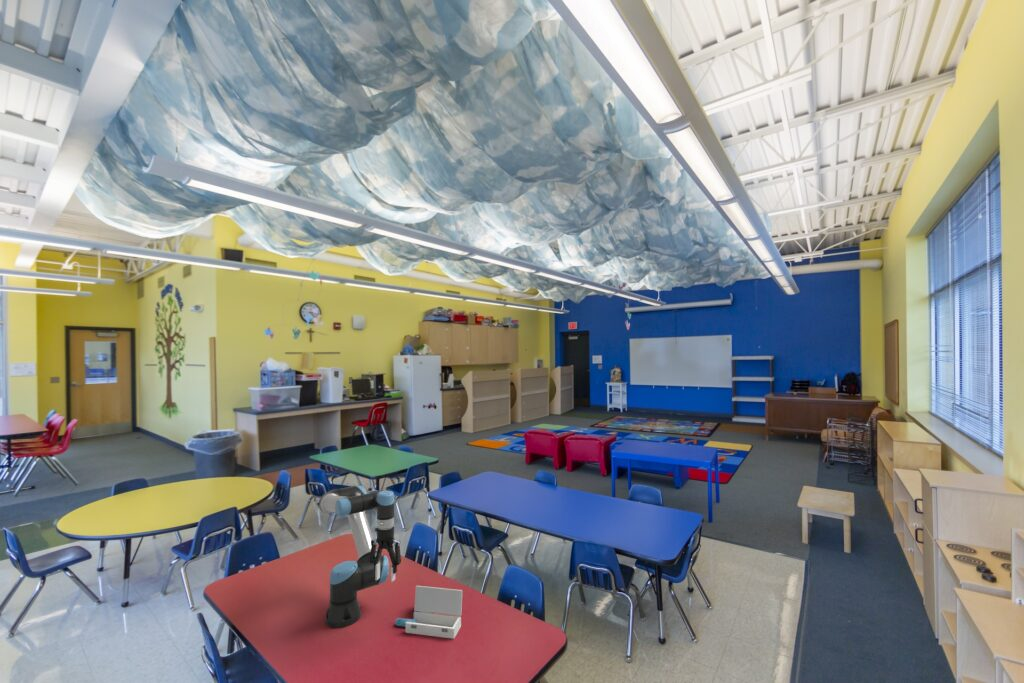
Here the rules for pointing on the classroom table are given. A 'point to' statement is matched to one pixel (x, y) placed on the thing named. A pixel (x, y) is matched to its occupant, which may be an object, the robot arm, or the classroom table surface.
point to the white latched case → (434, 629)
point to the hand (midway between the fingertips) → (385, 579)
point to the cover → (438, 600)
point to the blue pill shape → (403, 621)
